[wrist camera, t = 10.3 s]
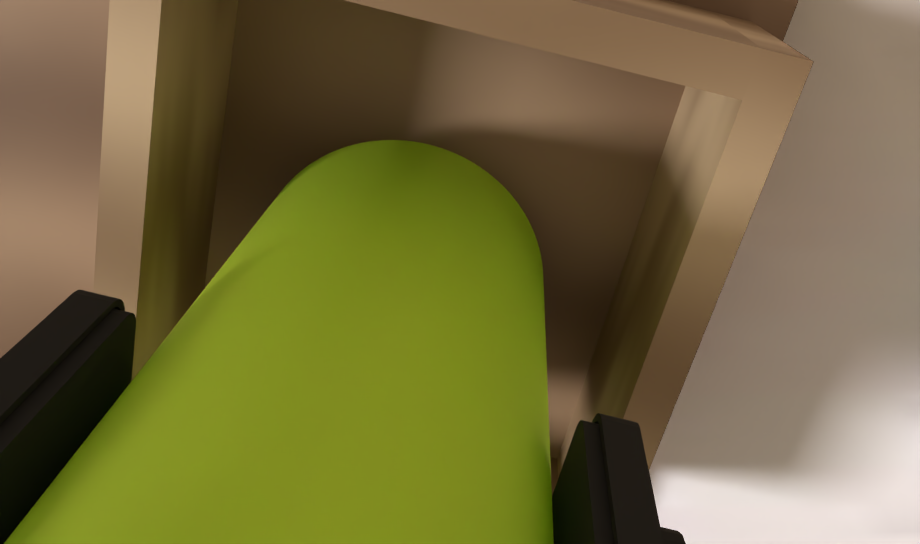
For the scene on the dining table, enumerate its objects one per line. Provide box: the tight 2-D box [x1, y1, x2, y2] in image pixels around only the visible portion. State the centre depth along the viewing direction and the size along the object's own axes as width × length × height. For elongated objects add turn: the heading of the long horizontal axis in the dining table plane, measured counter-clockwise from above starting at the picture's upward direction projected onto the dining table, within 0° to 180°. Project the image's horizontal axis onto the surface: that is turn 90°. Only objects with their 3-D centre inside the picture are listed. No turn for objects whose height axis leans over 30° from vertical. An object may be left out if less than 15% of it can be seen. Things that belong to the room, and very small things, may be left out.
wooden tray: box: [0, 0, 814, 495], centre depth 17 cm, size 14×18×5 cm
